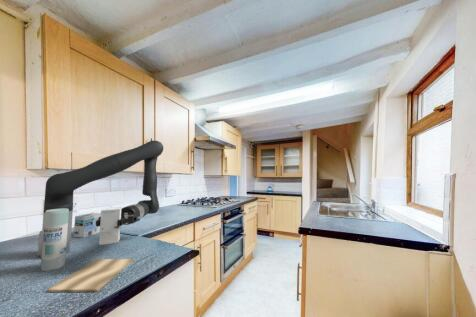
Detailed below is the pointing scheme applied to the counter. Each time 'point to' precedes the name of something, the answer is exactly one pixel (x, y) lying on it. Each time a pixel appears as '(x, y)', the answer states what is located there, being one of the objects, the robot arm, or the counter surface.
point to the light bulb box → (86, 225)
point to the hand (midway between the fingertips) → (107, 223)
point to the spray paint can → (54, 239)
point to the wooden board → (91, 276)
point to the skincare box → (109, 225)
